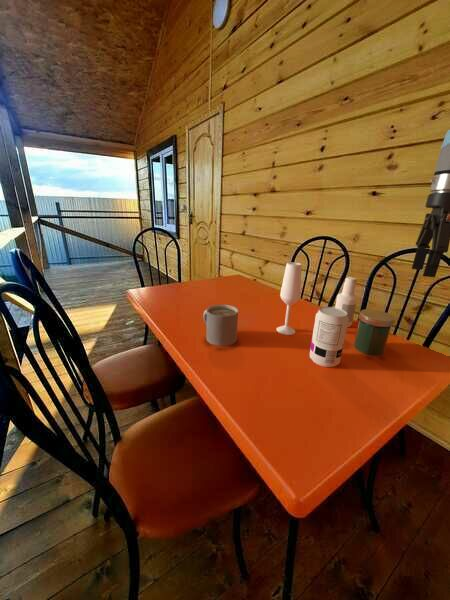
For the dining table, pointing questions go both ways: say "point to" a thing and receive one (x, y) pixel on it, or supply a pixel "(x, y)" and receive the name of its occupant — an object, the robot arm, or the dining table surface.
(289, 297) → the champagne flute
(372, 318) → the jar lid
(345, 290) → the spray bottle
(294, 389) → the dining table surface
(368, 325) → the jam jar
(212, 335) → the coffee mug
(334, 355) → the supplement can
